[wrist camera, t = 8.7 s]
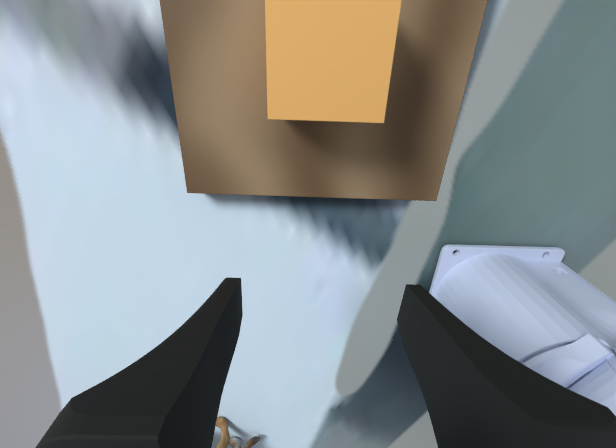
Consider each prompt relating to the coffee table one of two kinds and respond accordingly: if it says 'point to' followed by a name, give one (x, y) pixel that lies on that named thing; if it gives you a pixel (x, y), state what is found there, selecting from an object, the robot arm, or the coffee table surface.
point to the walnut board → (315, 134)
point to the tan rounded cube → (329, 58)
